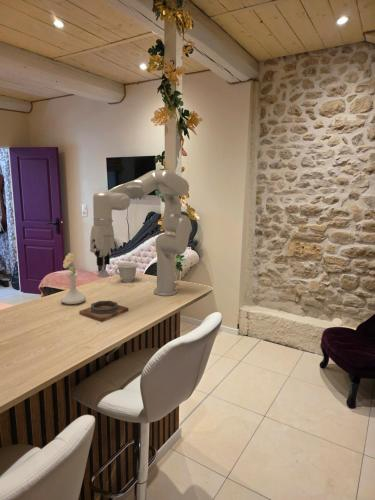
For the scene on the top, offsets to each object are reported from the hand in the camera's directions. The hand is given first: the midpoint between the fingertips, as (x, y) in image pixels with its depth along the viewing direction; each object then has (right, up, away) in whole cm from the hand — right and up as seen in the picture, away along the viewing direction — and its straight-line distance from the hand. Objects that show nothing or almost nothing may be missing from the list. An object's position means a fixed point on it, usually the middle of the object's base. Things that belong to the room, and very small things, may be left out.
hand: (103, 264), depth 144 cm
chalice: (0, -5, +1) cm, 5 cm away
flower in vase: (-18, -19, +15) cm, 31 cm away
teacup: (0, -13, +53) cm, 55 cm away
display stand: (-1, -22, +4) cm, 22 cm away
